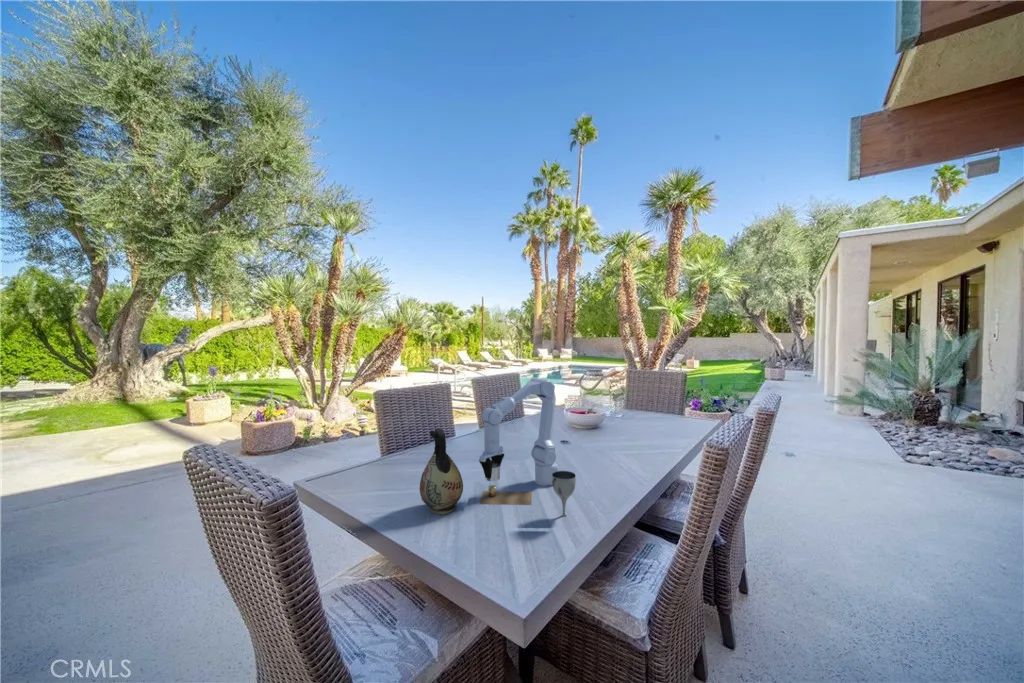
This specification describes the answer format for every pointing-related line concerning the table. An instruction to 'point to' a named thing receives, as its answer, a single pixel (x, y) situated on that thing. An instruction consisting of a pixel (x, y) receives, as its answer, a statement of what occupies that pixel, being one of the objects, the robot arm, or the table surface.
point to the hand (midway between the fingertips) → (492, 475)
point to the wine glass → (563, 486)
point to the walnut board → (508, 498)
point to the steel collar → (495, 473)
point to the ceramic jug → (441, 478)
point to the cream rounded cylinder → (492, 491)
